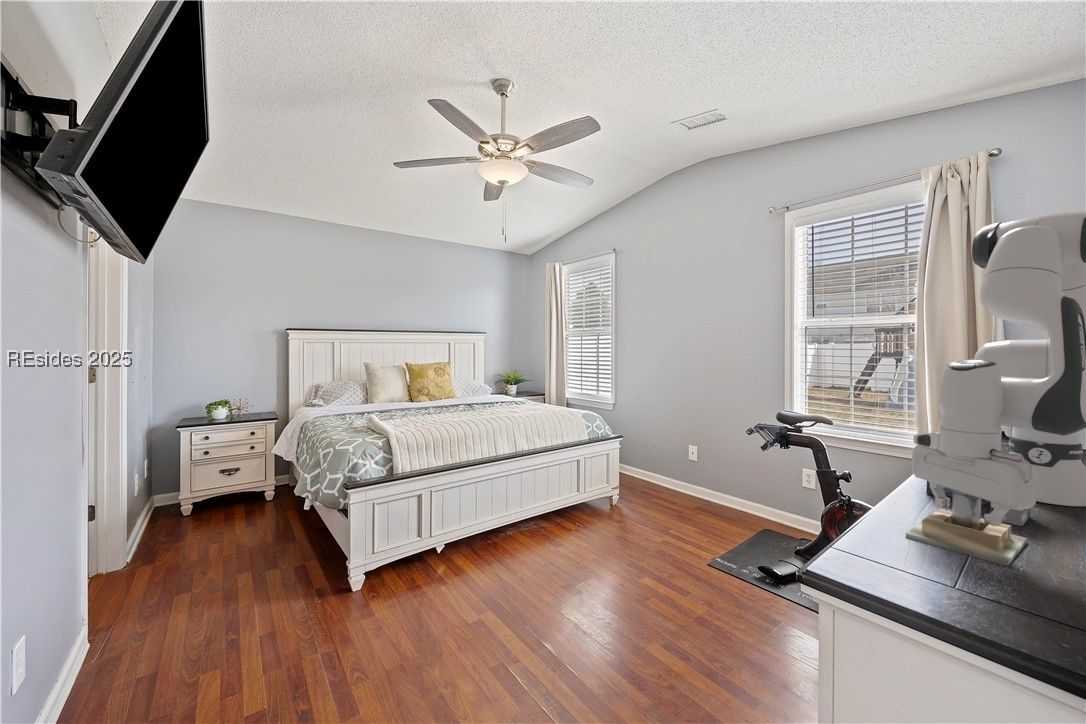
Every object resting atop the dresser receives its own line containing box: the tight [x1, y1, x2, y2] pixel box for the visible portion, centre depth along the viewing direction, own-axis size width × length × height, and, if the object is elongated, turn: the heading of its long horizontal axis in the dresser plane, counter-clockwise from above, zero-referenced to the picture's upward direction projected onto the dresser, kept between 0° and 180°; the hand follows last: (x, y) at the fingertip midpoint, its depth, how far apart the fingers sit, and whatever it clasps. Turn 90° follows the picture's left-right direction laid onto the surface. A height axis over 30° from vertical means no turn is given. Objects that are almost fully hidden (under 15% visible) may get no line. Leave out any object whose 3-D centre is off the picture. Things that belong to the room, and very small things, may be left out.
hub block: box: [905, 508, 1028, 567], centre depth 85 cm, size 16×14×3 cm
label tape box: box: [1002, 508, 1031, 527], centre depth 95 cm, size 9×4×12 cm, turn 124°
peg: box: [951, 491, 982, 531], centre depth 85 cm, size 4×4×8 cm
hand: (966, 514), depth 85 cm, fingers open, 8 cm apart
